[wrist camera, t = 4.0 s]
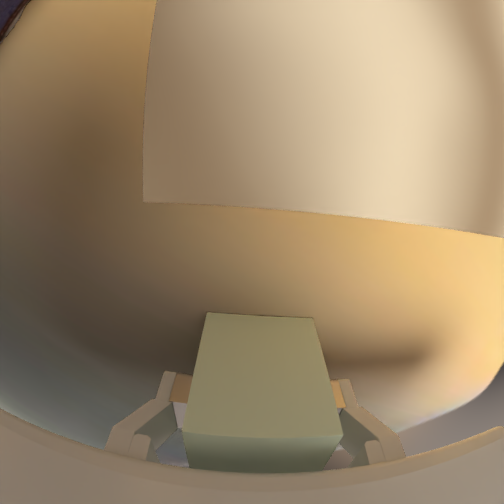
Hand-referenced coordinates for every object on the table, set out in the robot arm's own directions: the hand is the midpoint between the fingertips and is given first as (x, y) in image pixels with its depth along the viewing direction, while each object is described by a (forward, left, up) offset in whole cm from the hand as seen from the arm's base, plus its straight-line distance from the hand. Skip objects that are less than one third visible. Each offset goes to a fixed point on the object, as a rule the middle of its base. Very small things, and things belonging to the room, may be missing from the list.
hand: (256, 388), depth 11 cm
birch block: (+4, +15, -2) cm, 16 cm away
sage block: (0, 0, -2) cm, 2 cm away
